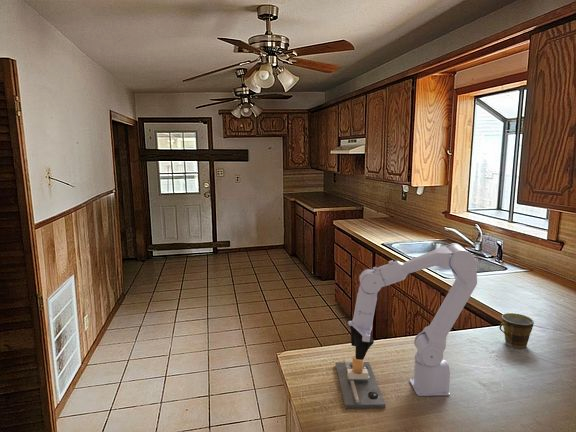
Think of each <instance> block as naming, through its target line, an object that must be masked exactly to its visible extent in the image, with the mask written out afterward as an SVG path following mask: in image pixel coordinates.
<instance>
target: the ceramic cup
mask: <svg viewBox="0 0 576 432" xmlns="http://www.w3.org/2000/svg"><path fill="white" fill-rule="evenodd" d="M501 321H502V322H501V323H500V325H499V330H500V331H501V332H502V333H503V334H504V341H505V345H506V346H508V347H510V348H512V349H518V350H522V349H526V348H527V345H528V342H529V339H530V336H531V333H532V331H533V327H534V324H535V320H533V318H531V317H530V316H527V315H524V314H521V313H513V312H511V313H510V312H507V313H504V314H502V315H501ZM502 327H503V329H502Z"/></svg>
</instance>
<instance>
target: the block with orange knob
mask: <svg viewBox="0 0 576 432" xmlns="http://www.w3.org/2000/svg"><path fill="white" fill-rule="evenodd" d="M352 358H353V365H352V369H347V376H348V379H369V378H370V376H368V371H367V369H363V360H359V359H356V356H353V357H352Z"/></svg>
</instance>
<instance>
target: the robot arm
mask: <svg viewBox="0 0 576 432" xmlns="http://www.w3.org/2000/svg"><path fill="white" fill-rule="evenodd" d="M478 266H479V264H478V262H477V259H476V258H475V256H474V254H472V253H471V252H470V251H468V250H467V249H465V248H464V247H463V246H462V244H461V245H460V244H459V243H450V244H447V245H446V246H445V245H442V246H439V247H437V248H436V249H434V250H431V251H429V252H427V253H423V254H421V255H419V256H417V257H414V258H411V259H409V260H407V261H404V262H401V261H399V260H393V259H392V260H389V261H388V263H386V264H384V265H380V266H378V267H377V266H373V267H372V269H371V268H367V269H364V270H363V271H362V272H361V273H360V275H359V276H358V280H359V282H360V283H359V287H358V292H357V294H356V300H355V301H356V302H355V306H354V312H353V317H352V320H348V321H347V324H348V325H349V329H350V344H351V346H352V347H355V351H354V352H355V356H356V359H359V360H363V359H365V356H366V354H367V352H368V351H369V349H370V348H371V347H372V346H373V345H374V343H375V340H374V338H371V334H372V333H371V332H372V330H373V321H374V316H375V311H376V306H377V301H378V293H379V292H380V290H381V289H382V288H383V287H387V286H390V285H393V284H395V283H398V282H401V281H404V280H405V279H407V277H408V275H409V274H412V273H415V272H418V271H422V270H426V269H428V268H431V267H432V268H433V267H439V268H443V269H446V270H449V268H450V269H451V272H452V275H453V277H454V279H455V280H454V282H453V284H452V285H451V288H450V289H449V291H448V292H447V294H446V296H445V298H444V300H443V301H442V303H441V305H440V306H439V308H438V310H437V312H436V314H435V315H434V316H433V317H434V318H433V319H432V320H431V322H430V323H429V325H428V326H425V327H424V328H423V330H422V331H420V332H419V333H418V334H417V335H415V338H414V342H413V344H414V346H415V348H416V350H417V352H416V354H415V356H414V370H413V371H414V373H413V375H414V376H413V378H409V380H408V381H409V383H410V384H411V386H412V389H413V390H414V392H415V394H416V395H417V396H418V397H419V396H421V397H424V396H425V397H426V396H427V397H428V396H450V395H451V393H450V381H451V380H450V377H451V373H450V372H451V371H450V369H451V368H450V366H449V363H448V361H447V360H446V358H445V359H444V352H445V350H446V348H447V347H446V346H447V337H448V335H449V333H450V331H451V329H453V327H454V325H455V323H456V321H457V319H458V318H459V316H460V314H461V313H462V311H463V309H464V308H465V306H466V304H467V302H468V301H469V299H470V297H471V296H472V294H473V293H474V290H475V288H476V287H477V285H478V271H477V269H478ZM355 356H354V357H355Z"/></svg>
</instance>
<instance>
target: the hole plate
mask: <svg viewBox="0 0 576 432" xmlns="http://www.w3.org/2000/svg"><path fill="white" fill-rule="evenodd" d="M364 359H365V358H364ZM364 359H363V369H367V371H368V376H370V378H369V379H348V376H347V369H352V365H353V357H351V358H350V357H349V358H347V357H346V358H344V361H343V362H335V368H336V369H335V370H336V372H337V373H336V375H337V377H338V381H339V387H340V391H341V394H342V401H343V404H344V407H345V409H346V410H350V409H351V410H353V409H354V410H356V409H357V410H358V409H361V410H362V409H363V410H365V409H386V402H385V400H384V397H383V394H382V392H381V390H380V387H379V384H378V382H377V379H376V377H375V373H374V371H373V369H372V367H371V364H370V362H369V361H365V360H364Z"/></svg>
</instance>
